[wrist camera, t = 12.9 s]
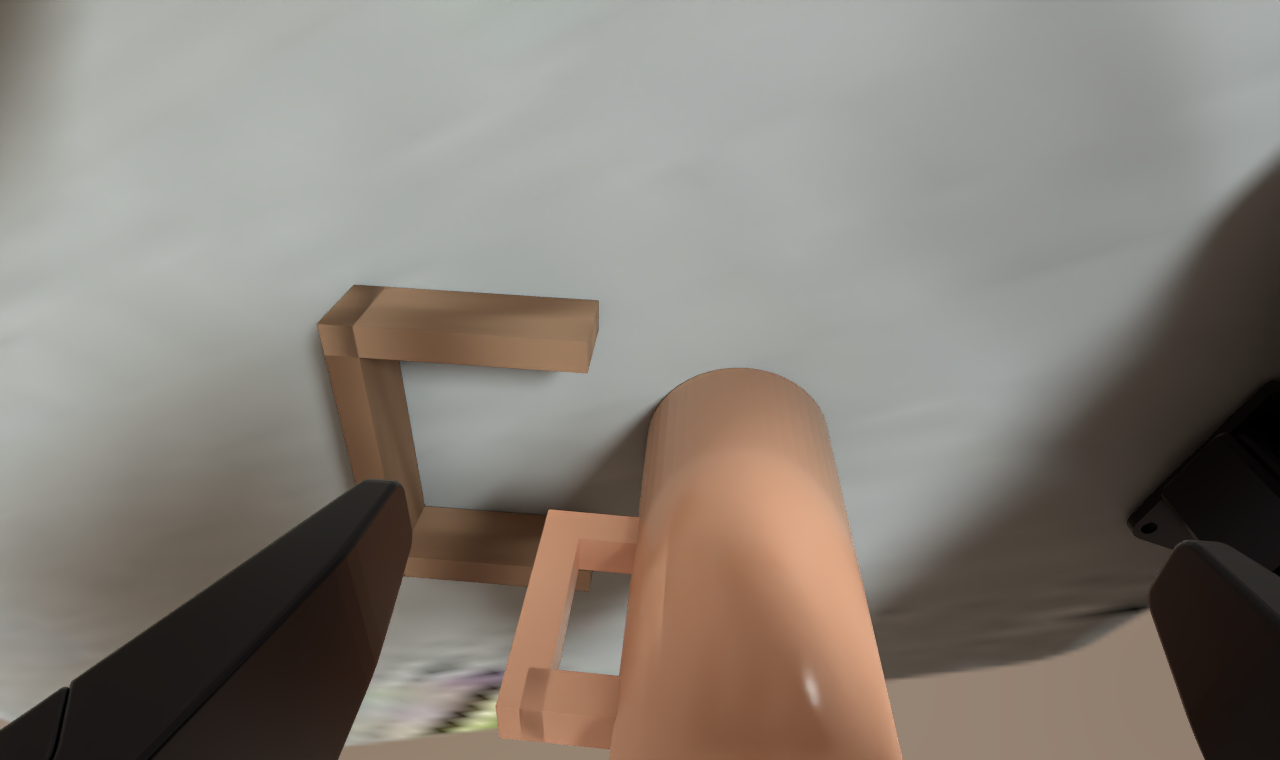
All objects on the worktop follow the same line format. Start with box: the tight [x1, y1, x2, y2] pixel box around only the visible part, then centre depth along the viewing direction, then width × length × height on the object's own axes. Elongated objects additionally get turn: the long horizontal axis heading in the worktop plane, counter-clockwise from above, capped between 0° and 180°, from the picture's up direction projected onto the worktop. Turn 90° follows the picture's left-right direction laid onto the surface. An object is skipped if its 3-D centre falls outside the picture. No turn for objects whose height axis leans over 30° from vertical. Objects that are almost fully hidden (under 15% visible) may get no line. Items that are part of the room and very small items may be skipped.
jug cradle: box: [317, 285, 599, 592], centre depth 23 cm, size 8×10×2 cm
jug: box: [496, 368, 903, 760], centre depth 19 cm, size 8×6×12 cm
